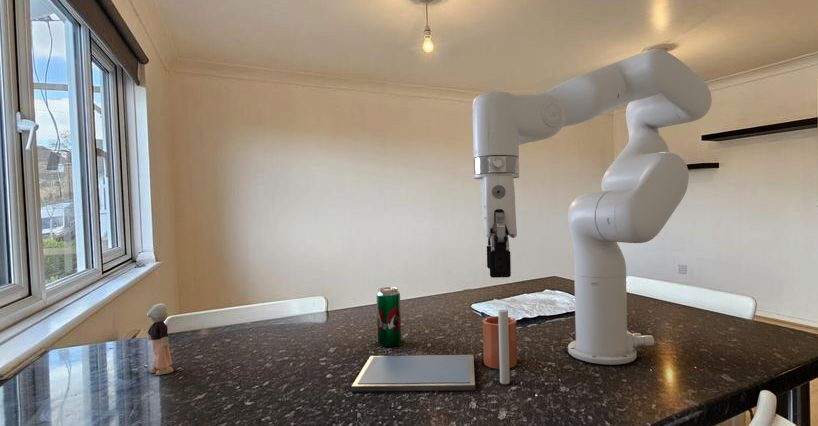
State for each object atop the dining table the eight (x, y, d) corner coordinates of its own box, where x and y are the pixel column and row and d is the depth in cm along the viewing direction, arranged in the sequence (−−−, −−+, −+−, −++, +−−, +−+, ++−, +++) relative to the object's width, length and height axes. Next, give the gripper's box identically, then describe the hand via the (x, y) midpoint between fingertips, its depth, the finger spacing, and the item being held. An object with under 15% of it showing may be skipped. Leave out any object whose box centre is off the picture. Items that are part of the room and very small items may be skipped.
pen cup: (514, 356, 83) (513, 315, 83) (519, 368, 77) (518, 324, 77) (483, 357, 84) (482, 316, 83) (484, 369, 77) (483, 325, 77)
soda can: (403, 340, 96) (401, 286, 95) (398, 347, 90) (397, 291, 90) (381, 340, 96) (379, 286, 96) (375, 347, 91) (373, 291, 91)
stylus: (509, 380, 72) (507, 309, 72) (510, 384, 71) (508, 311, 70) (499, 380, 72) (497, 309, 72) (500, 384, 71) (498, 312, 70)
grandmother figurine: (184, 369, 81) (181, 303, 81) (163, 377, 77) (160, 307, 77) (158, 364, 84) (156, 300, 84) (137, 371, 81) (135, 304, 81)
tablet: (473, 359, 83) (473, 354, 83) (475, 390, 69) (475, 384, 69) (370, 360, 83) (370, 355, 83) (351, 391, 69) (351, 385, 69)
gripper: (526, 163, 62) (528, 281, 62) (513, 173, 80) (515, 265, 80) (474, 164, 63) (476, 281, 63) (472, 174, 80) (474, 265, 80)
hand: (498, 272), depth 71 cm, fingers open, 9 cm apart
